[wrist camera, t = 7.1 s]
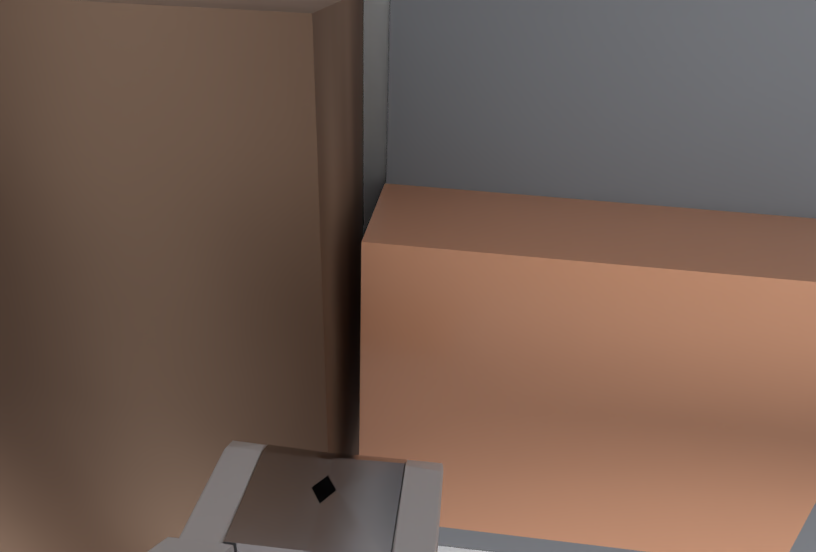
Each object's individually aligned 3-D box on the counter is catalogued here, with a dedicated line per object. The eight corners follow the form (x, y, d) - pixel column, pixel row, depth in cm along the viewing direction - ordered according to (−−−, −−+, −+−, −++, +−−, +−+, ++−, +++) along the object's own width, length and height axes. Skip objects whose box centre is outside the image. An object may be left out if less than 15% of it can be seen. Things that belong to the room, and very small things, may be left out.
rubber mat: (381, 525, 16) (378, 538, 16) (398, -242, 9) (394, -249, 8) (912, 586, 15) (922, 601, 15) (1474, -220, 8) (1520, -226, 7)
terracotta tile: (377, 428, 14) (358, 516, 12) (384, 183, 11) (360, 241, 9) (733, 467, 14) (780, 567, 11) (837, 220, 11) (927, 291, 9)
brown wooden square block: (-70, 449, 17) (-192, 562, 14) (-297, -43, 11) (-595, -35, 8) (362, 497, 16) (334, 629, 13) (363, -10, 10) (311, 12, 7)
